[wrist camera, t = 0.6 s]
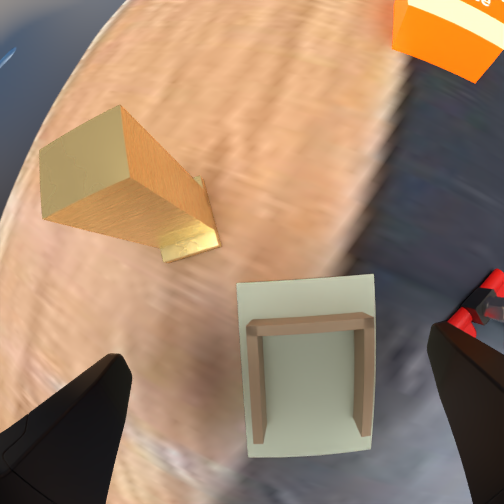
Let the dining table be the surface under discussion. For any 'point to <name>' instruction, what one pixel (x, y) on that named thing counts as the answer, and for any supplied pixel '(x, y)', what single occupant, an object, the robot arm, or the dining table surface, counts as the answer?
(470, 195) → the dining table surface
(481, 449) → the robot arm
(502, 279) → the tow hook
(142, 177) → the gold square pillar
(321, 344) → the pale green slotted base
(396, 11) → the orange juice
